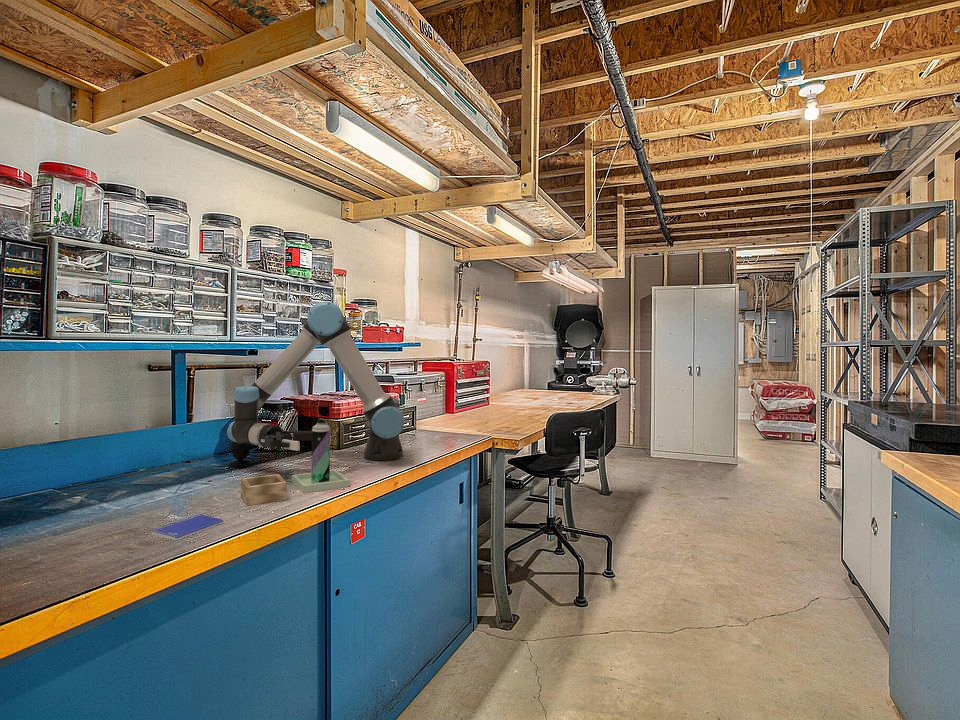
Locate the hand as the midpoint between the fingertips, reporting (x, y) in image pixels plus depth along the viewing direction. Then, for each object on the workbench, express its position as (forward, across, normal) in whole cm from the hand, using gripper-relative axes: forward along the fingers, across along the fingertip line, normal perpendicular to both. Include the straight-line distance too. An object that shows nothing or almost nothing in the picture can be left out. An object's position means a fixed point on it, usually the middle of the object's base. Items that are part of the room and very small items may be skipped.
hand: (315, 442), depth 160 cm
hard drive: (+2, +43, -14) cm, 46 cm away
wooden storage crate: (-2, +18, -13) cm, 23 cm away
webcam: (-38, -3, -13) cm, 40 cm away
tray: (+2, 0, -13) cm, 13 cm away
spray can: (+2, 0, -13) cm, 13 cm away
